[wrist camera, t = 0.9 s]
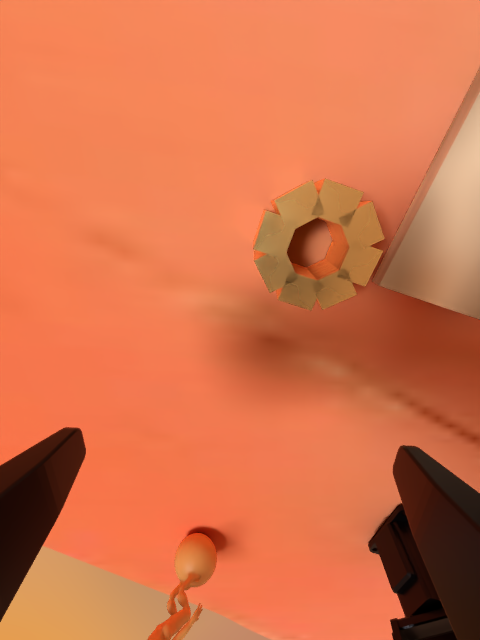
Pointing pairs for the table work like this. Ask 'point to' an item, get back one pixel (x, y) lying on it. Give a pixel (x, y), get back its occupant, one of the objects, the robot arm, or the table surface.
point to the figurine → (187, 584)
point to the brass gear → (344, 252)
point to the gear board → (443, 223)
